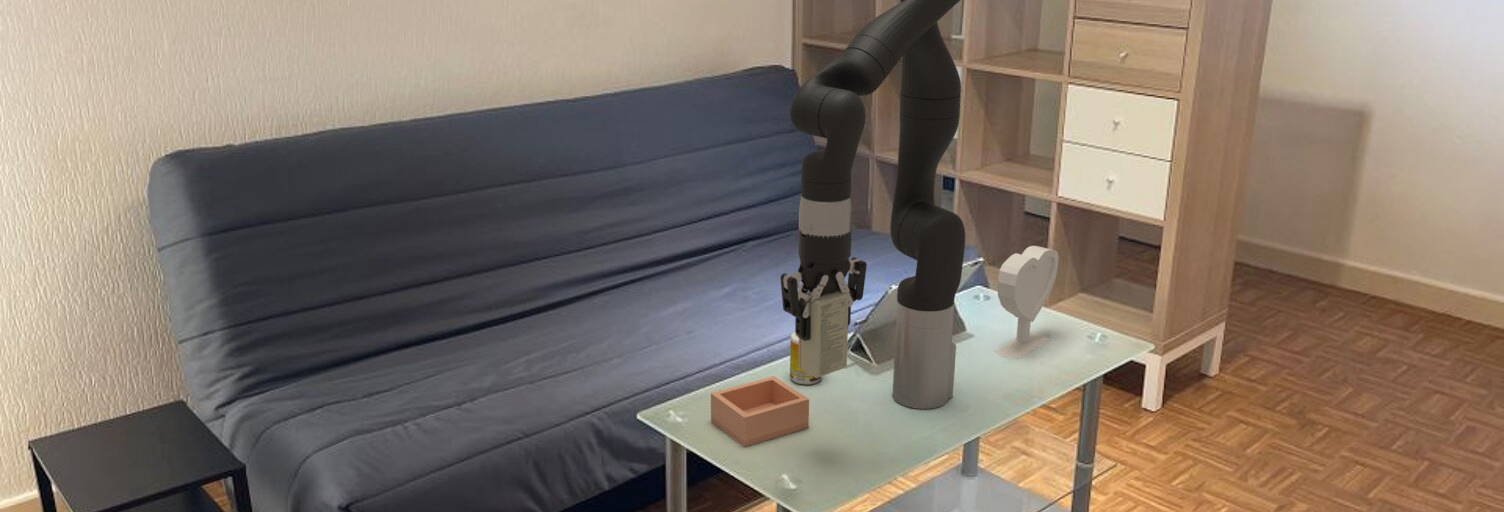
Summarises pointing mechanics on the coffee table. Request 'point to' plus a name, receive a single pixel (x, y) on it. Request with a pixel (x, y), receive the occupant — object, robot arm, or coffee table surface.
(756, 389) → the box
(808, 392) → the coffee table surface
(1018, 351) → the heart sculpture
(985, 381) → the coffee table surface
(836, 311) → the skincare box
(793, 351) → the supplement bottle
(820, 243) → the robot arm
